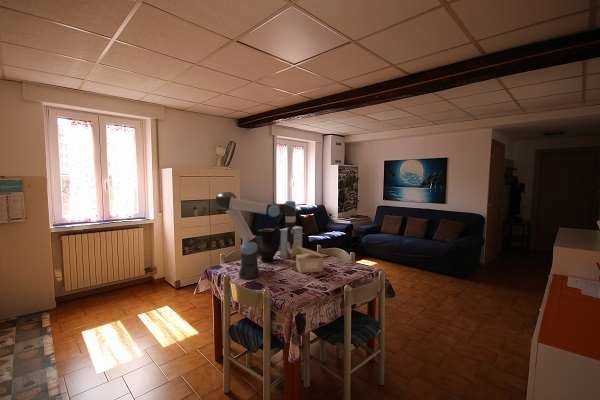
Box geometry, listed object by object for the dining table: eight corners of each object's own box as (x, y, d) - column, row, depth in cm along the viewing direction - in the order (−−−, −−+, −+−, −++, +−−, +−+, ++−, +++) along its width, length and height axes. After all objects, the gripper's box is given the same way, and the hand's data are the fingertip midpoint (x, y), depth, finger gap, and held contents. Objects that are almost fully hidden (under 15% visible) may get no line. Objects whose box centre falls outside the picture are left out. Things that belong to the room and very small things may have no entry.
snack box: (287, 259, 246) (287, 230, 244) (280, 257, 251) (279, 229, 249) (302, 254, 263) (302, 226, 261) (295, 252, 268) (295, 225, 266)
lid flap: (288, 249, 210) (290, 245, 210) (285, 245, 222) (287, 241, 222) (321, 259, 217) (323, 255, 217) (316, 254, 229) (318, 250, 229)
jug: (252, 263, 237) (251, 227, 234) (261, 256, 254) (261, 223, 252) (276, 265, 231) (275, 228, 228) (284, 258, 248) (283, 224, 246)
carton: (299, 272, 213) (299, 259, 212) (295, 267, 226) (295, 254, 226) (323, 271, 217) (323, 258, 216) (317, 265, 231) (317, 253, 230)
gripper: (298, 223, 207) (297, 254, 209) (292, 219, 225) (292, 248, 227) (287, 223, 205) (287, 255, 207) (283, 219, 223) (283, 249, 225)
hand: (290, 251), depth 217 cm, fingers closed on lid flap, 5 cm apart
